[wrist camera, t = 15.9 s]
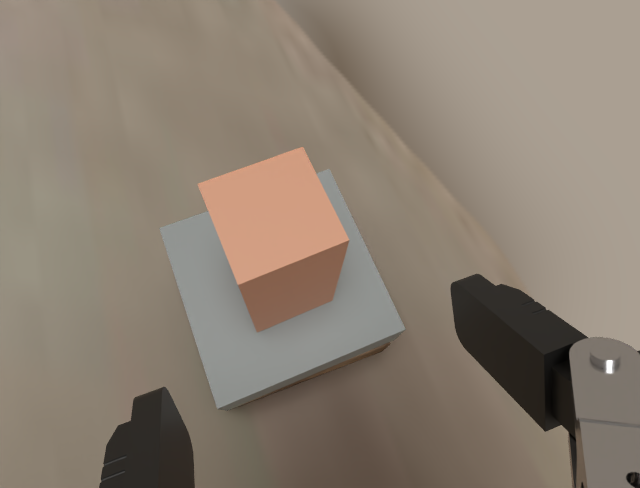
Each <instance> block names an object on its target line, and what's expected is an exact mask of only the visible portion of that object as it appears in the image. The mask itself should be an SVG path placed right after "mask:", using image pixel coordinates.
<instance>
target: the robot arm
mask: <svg viewBox="0 0 640 488" xmlns="http://www.w3.org/2000/svg"><path fill="white" fill-rule="evenodd" d="M451 297H452V306H453V314H454V322H455V329H456V333H457V336H458V338H459V340H460V342H461V344H462V345H463V347H464V348H465V349H466V350H467V351H468V352H469V353H470V354H471V355H472V356H473V357H474V358H475V359H476V360H477V362H478V363H479V364H480V365H481V366H482V367H483V368H484V369H485V370H486V371H487V372H488V373H489V374H490V375H491V376H492V377H493V378H494V379H495V380H496V381H497V382H498V383H499V384H500V385H501V386H502V387H503V388H504V389H505V390H506V392H507V393H508V394H509V395H510V396H511V397H512V398H513V399H514V400H515V401H516V402H517V403H518V404H519V405H520V406H521V407H522V408H523V409H524V410H525V411H526V412H527V413H528V414H529V415H530V416H531V417H532V418H533V419H534V420H535V422H536V423H537V424H538V425H539V426H540V427H541V428H542V429H543V430H544V431H545V432H546V431H548V430H550V429H553V428H555V427H557V426H560V425H562V426H563V427H564V428H565V429H566V430H567V431H568V443H569V454H570V465H571V476H572V487H573V488H640V351H636V350H635V349H634V348H632V347H631V346H629V345H628V344H625V343H623V342H621V341H618V340H614V339H610V338H603V337H593V338H588V337H587V336H585V335H584V334H582V333H581V332H579V331H578V330H577V329H575V328H574V327H572V326H571V325H569V324H568V323H566V322H565V321H564V320H562V319H561V318H559V317H558V316H557V315H555V314H554V313H552V312H551V311H549V310H546V308H545V307H544V306H542V305H541V304H539V303H538V302H535V301H534V299H532V298H531V297H529V296H528V295H527V294H525V293H524V292H522V291H521V290H519V289H515V288H512V287H509V286H506V285H503V284H500V285H497V286H495V285H494V284H492V283H491V282H490V281H488V280H487V279H485V278H484V277H483V276H481V275H480V274H475V275H472V276H469V277H466V278H464V279H461V280H458V281H455V282H453V283H452V284H451ZM103 464H104V467H103V469H102V475H101V483H100V486H99V488H195V485H194V462H193V449H192V444H191V440H190V436H189V433H188V431H187V428H186V426H185V424H184V422H183V420H182V418H181V416H180V414H179V412H178V410H177V408H176V406H175V404H174V401H173V399H172V397H171V395H170V393H169V391H168V390H167V388H165V387H162V388H160V389H157V390H154V391H151V392H149V393H146V394H143V395H140V396H138V397H135V398H134V401H133V408H132V416H131V421H129V422H126V423H124V424H121V425H118V427H117V428H116V430H115V432H114V433H113V435H112V437H111V438H110V440H109V442H108V444H107V446H106V452H105V458H104V463H103Z"/></svg>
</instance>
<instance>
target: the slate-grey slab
mask: <svg viewBox="0 0 640 488" xmlns="http://www.w3.org/2000/svg"><path fill="white" fill-rule="evenodd" d="M316 174H317V176H318V178H319V180H320V182H321V184H322V186H323V188H324V190H325V192H326V194H327V196H328V198H329V200H330V202H331V204H332V206H333V208H334V210H335V212H336V214H337V216H338V218H339V220H340V222H341V224H342V226H343V228H344V230H345V232H346V234H347V236H348V238H349V244H348V247H347V251H346V255H345V258H344V262H343V265H342V269H341V272H340V276H339V279H338V283H337V287H336V290H335V294H334V297H333V301H330V302H328V303H326V304H323V305H321V306H319V307H316V308H314V309H312V310H309V311H307V312H305V313H302V314H300V315H298V316H295V317H293V318H291V319H288V320H286V321H284V322H281V323H279V324H277V325H274V326H272V327H269V328H267V329H265V330H262V331H260V332H258V333H257V331H256V329H255V326H254V324H253V321H252V319H251V316H250V314H249V311H248V309H247V306H246V304H245V301H244V299H243V296H242V294H241V291H240V289H239V287H238V284H237V282H236V279H235V276H234V274H233V271H232V269H231V266H230V264H229V261H228V259H227V256H226V254H225V251H224V249H223V246H222V244H221V241H220V239H219V236H218V234H217V231H216V229H215V226H214V224H213V221H212V219H211V216H210V214H209V211H207V212H204V213H201V214H198V215H195V216H192V217H190V218H187V219H184V220H181V221H178V222H175V223H172V224H169V225H167V226H164V227H161V228H160V232H161V235H162V238H163V241H164V244H165V247H166V250H167V253H168V257H169V260H170V263H171V266H172V269H173V272H174V275H175V278H176V282H177V285H178V288H179V291H180V294H181V297H182V300H183V303H184V307H185V310H186V313H187V316H188V319H189V322H190V325H191V328H192V332H193V335H194V338H195V341H196V344H197V347H198V350H199V353H200V357H201V360H202V363H203V366H204V369H205V372H206V375H207V378H208V382H209V385H210V388H211V391H212V394H213V397H214V400H215V403H216V407H217V409H221V410H227V411H228V410H230V409H233V408H235V407H238V406H240V405H242V404H245V403H247V402H249V401H252V400H254V399H256V398H259V397H261V396H263V395H266V394H268V393H271V392H273V391H275V390H278V389H280V388H282V387H285V386H287V385H289V384H292V383H294V382H296V381H299V380H301V379H304V378H306V377H308V376H311V375H313V374H315V373H318V372H320V371H322V370H325V369H327V368H330V367H332V366H334V365H337V364H339V363H341V362H344V361H346V360H348V359H351V358H353V357H355V356H358V355H360V354H363V353H365V352H367V351H370V350H372V349H374V348H377V347H379V346H381V345H384V344H386V343H388V342H391V341H393V340H395V339H396V338H397V337H398V336H399V335H400V334H401V333H402V332H403V331H404V330H406V329H405V327H404V325H403V323H402V321H401V319H400V316H399V314H398V312H397V310H396V308H395V306H394V304H393V302H392V300H391V298H390V295H389V293H388V291H387V289H386V287H385V285H384V283H383V281H382V279H381V277H380V274H379V272H378V270H377V268H376V266H375V264H374V262H373V260H372V258H371V255H370V253H369V251H368V249H367V247H366V245H365V243H364V241H363V239H362V237H361V234H360V232H359V230H358V228H357V226H356V224H355V222H354V220H353V218H352V216H351V213H350V211H349V209H348V207H347V205H346V203H345V201H344V199H343V197H342V195H341V192H340V190H339V188H338V186H337V184H336V182H335V180H334V178H333V176H332V174H331V171H330V169H328V170H325V171H322V172H319V173H316Z"/></svg>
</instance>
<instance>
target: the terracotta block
mask: <svg viewBox="0 0 640 488" xmlns="http://www.w3.org/2000/svg"><path fill="white" fill-rule="evenodd" d="M198 186H199V189H200V191H201V194H202V196H203V199H204V201H205V204H206V206H207V209H208V211H209V214H210V216H211V219H212V221H213V224H214V226H215V229H216V231H217V234H218V236H219V239H220V241H221V244H222V246H223V249H224V251H225V254H226V256H227V259H228V261H229V264H230V266H231V269H232V271H233V274H234V276H235V279H236V282H237V284H238V287H239V289H240V291H241V294H242V296H243V299H244V301H245V304H246V306H247V309H248V311H249V314H250V316H251V319H252V321H253V324H254V326H255V329H256V331H257V333H258V332H260V331H262V330H265V329H267V328H269V327H272V326H274V325H277V324H279V323H281V322H284V321H286V320H288V319H291V318H293V317H295V316H298V315H300V314H302V313H305V312H307V311H309V310H312V309H314V308H316V307H319V306H321V305H323V304H326V303H328V302H330V301H333V297H334V294H335V290H336V287H337V283H338V279H339V276H340V272H341V269H342V265H343V262H344V258H345V255H346V251H347V247H348V244H349V238H348V236H347V234H346V232H345V230H344V228H343V226H342V224H341V222H340V220H339V218H338V216H337V214H336V212H335V210H334V208H333V206H332V204H331V202H330V200H329V198H328V196H327V194H326V192H325V190H324V188H323V186H322V184H321V182H320V180H319V178H318V176H317V174H316V172H315V170H314V168H313V166H312V164H311V162H310V160H309V158H308V156H307V154H306V152H305V150H304V148H303V147H301V148H298V149H295V150H292V151H289V152H286V153H284V154H281V155H278V156H275V157H272V158H269V159H267V160H264V161H261V162H258V163H255V164H252V165H250V166H247V167H244V168H241V169H238V170H235V171H233V172H230V173H227V174H224V175H221V176H218V177H216V178H213V179H210V180H207V181H204V182H202V183H199V184H198Z"/></svg>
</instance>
